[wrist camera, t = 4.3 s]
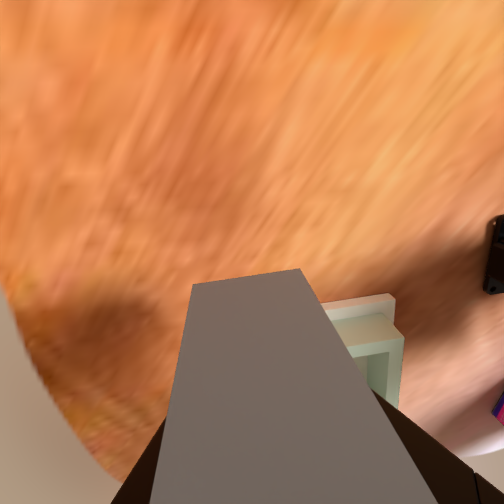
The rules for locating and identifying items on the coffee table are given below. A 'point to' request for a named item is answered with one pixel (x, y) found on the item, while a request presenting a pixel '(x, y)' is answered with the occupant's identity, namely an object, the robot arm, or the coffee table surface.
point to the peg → (275, 407)
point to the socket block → (371, 340)
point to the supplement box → (499, 410)
